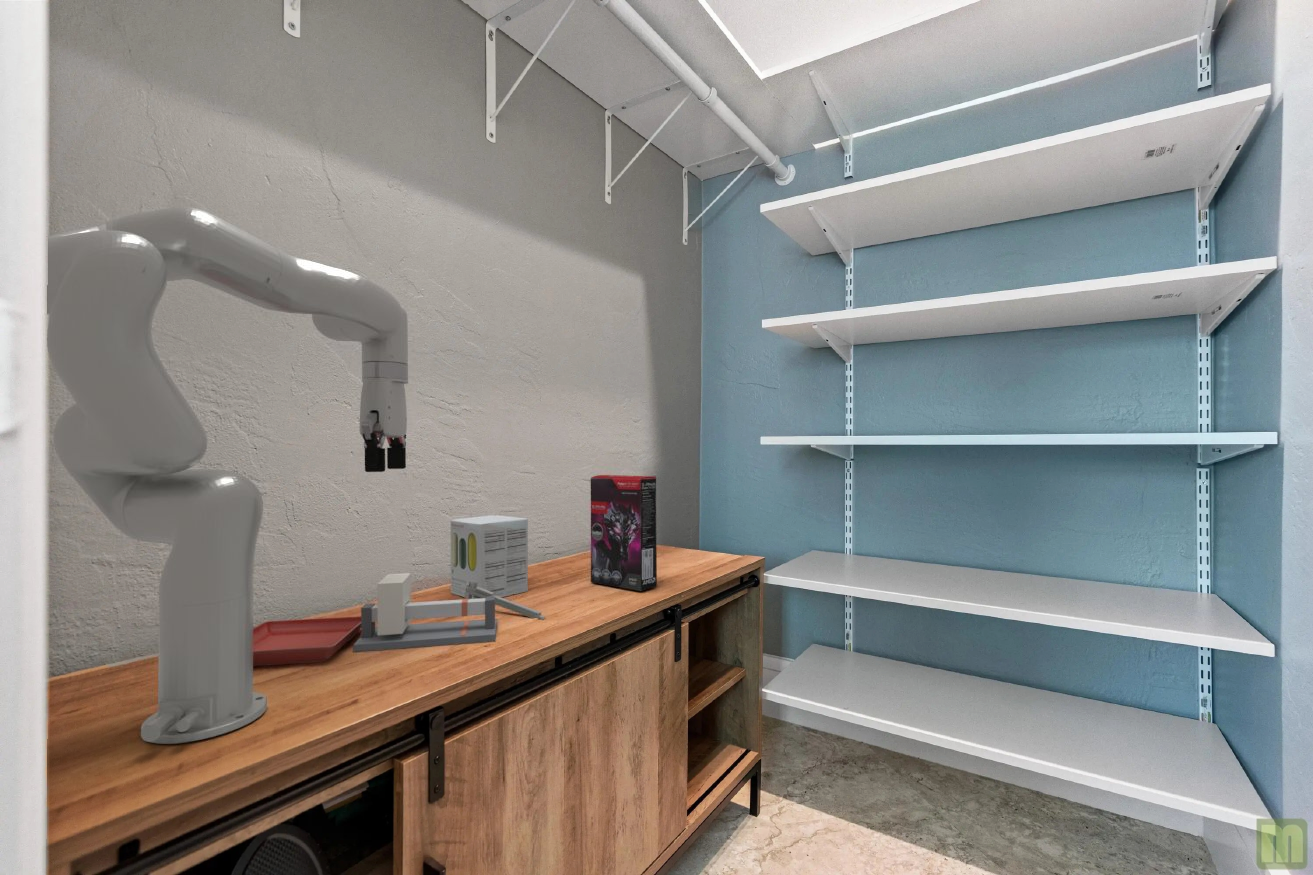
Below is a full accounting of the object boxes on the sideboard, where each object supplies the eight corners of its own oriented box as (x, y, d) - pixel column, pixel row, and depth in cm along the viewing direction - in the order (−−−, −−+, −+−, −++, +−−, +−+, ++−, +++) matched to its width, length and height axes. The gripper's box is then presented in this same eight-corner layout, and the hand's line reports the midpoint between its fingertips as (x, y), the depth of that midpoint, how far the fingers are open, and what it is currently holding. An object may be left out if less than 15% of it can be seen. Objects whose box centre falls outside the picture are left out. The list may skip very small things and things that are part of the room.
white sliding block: (402, 633, 102) (402, 582, 102) (377, 635, 101) (377, 583, 101) (411, 620, 110) (411, 572, 110) (387, 621, 109) (388, 574, 109)
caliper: (464, 609, 126) (464, 580, 126) (468, 608, 127) (468, 579, 127) (543, 621, 117) (543, 589, 117) (546, 619, 118) (546, 588, 118)
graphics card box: (588, 583, 148) (587, 475, 149) (606, 578, 154) (606, 474, 154) (641, 593, 138) (640, 477, 138) (659, 587, 143) (658, 475, 144)
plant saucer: (264, 637, 108) (264, 619, 108) (369, 632, 111) (369, 614, 111) (207, 675, 90) (207, 653, 90) (333, 667, 93) (333, 646, 93)
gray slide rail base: (495, 641, 104) (494, 604, 104) (353, 651, 99) (353, 613, 99) (497, 624, 114) (497, 591, 114) (368, 633, 109) (368, 598, 109)
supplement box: (448, 593, 139) (448, 519, 139) (496, 583, 149) (496, 514, 149) (481, 602, 130) (481, 523, 131) (529, 591, 140) (529, 518, 141)
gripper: (382, 379, 114) (383, 468, 114) (341, 369, 96) (342, 473, 96) (422, 379, 114) (423, 467, 114) (388, 369, 97) (389, 472, 97)
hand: (386, 470), depth 105 cm, fingers open, 9 cm apart
